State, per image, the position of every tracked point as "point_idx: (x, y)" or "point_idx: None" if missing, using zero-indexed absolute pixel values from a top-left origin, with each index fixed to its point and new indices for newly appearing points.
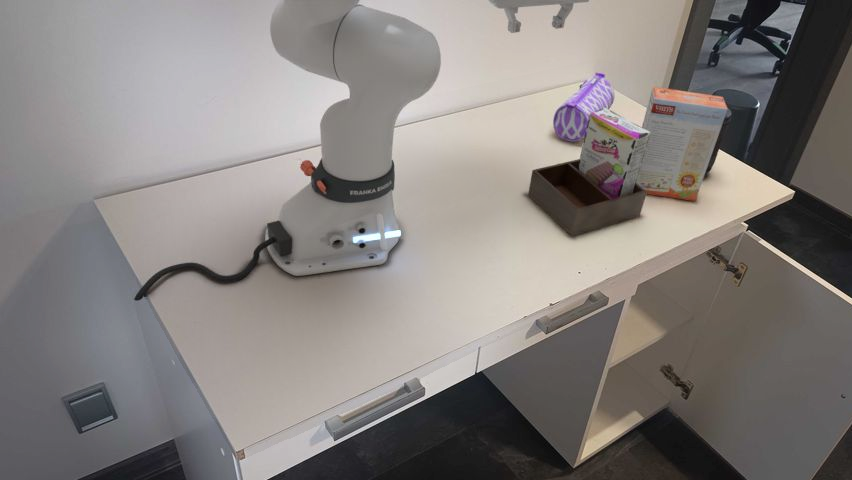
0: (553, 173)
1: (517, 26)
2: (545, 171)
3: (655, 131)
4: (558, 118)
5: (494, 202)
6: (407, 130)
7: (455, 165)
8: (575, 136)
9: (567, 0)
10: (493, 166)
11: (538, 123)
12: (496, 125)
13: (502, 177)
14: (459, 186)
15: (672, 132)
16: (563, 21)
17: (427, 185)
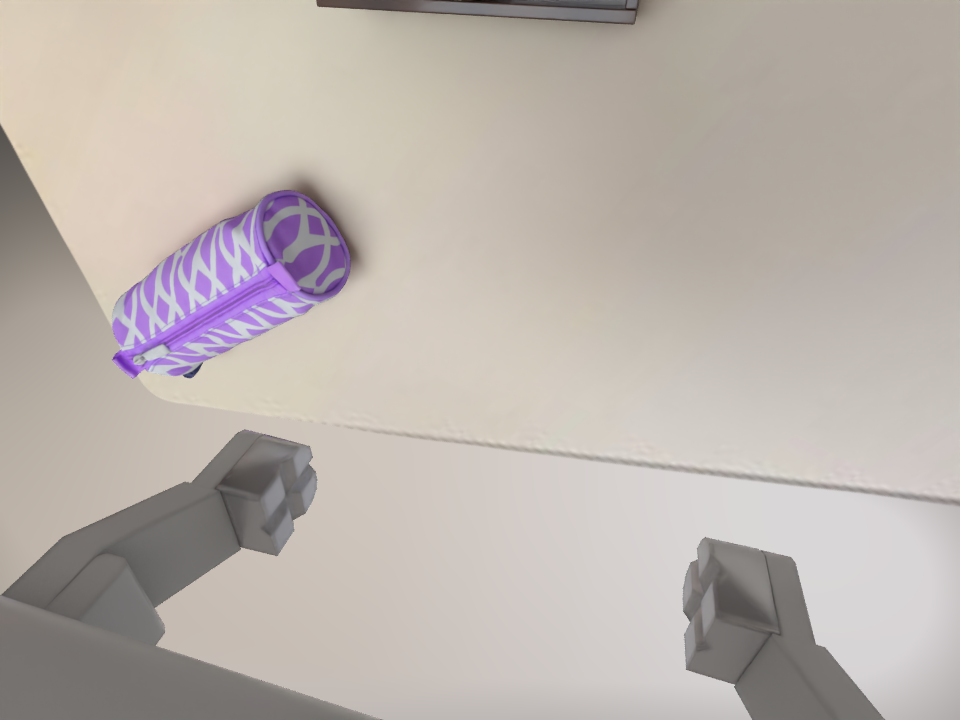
0: (539, 3)
1: (756, 595)
2: (579, 6)
3: None
4: (329, 279)
5: (775, 34)
6: (689, 450)
7: (709, 275)
8: (311, 208)
9: (45, 666)
10: (613, 219)
11: (360, 326)
12: (468, 368)
13: (632, 155)
14: (795, 177)
15: None
16: (219, 468)
17: (877, 229)
